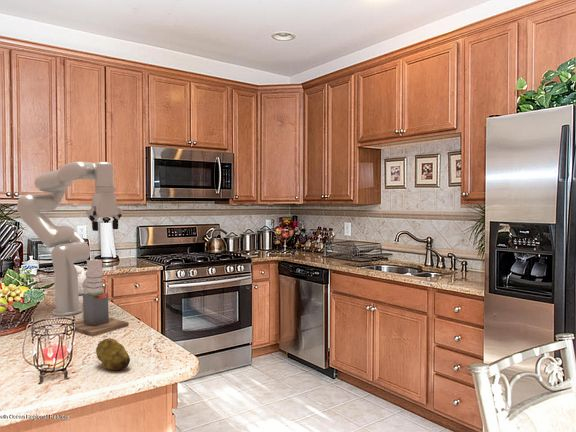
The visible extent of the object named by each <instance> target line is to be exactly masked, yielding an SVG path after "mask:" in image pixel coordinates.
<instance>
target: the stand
mask: <svg viewBox="0 0 576 432" xmlns="http://www.w3.org/2000/svg"><path fill="white" fill-rule="evenodd" d="M82 308H83V311H82V313H83V317H82V319H79V320H75V321H74V322H75V331H74V332H76V331H77V332H76V333H79V332H80V333H79V334H82V335H85V336H86V335H87V336H90V337H94V336H95V337H96V336H99V335H102V334H105V333H108V332H112V331H116V330H120V329H122V328H126V327H129V325H130V324H129V321H124V320H121V319H116V318H113V317H110V316H109V315H110V314H109V293H107V292H103V294H100V295H95V296H92V295H88V294H82Z"/></svg>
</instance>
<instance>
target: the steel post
mask: <svg viewBox="0 0 576 432" xmlns="http://www.w3.org/2000/svg"><path fill="white" fill-rule="evenodd" d="M86 266H87V267H86V268H87V269H86V270H87V278H88V282H87V283H88V287H87V288H88V295H92V296H95V295H100V294H103V293H104V292H103V291H104V288H103V287H104V285H103V283H104V281H103V260H102V259H98V258H96V259H87V260H86Z"/></svg>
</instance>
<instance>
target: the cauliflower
mask: <svg viewBox="0 0 576 432" xmlns="http://www.w3.org/2000/svg"><path fill="white" fill-rule="evenodd" d="M74 266H75V268H76V270H77V273H78V296H80V295H82V296H83V294H84V290H83V281H84V280H85V279H86V272H87V269H86V270H85V268H83V267H82V266H80V265H76V264H74Z"/></svg>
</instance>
